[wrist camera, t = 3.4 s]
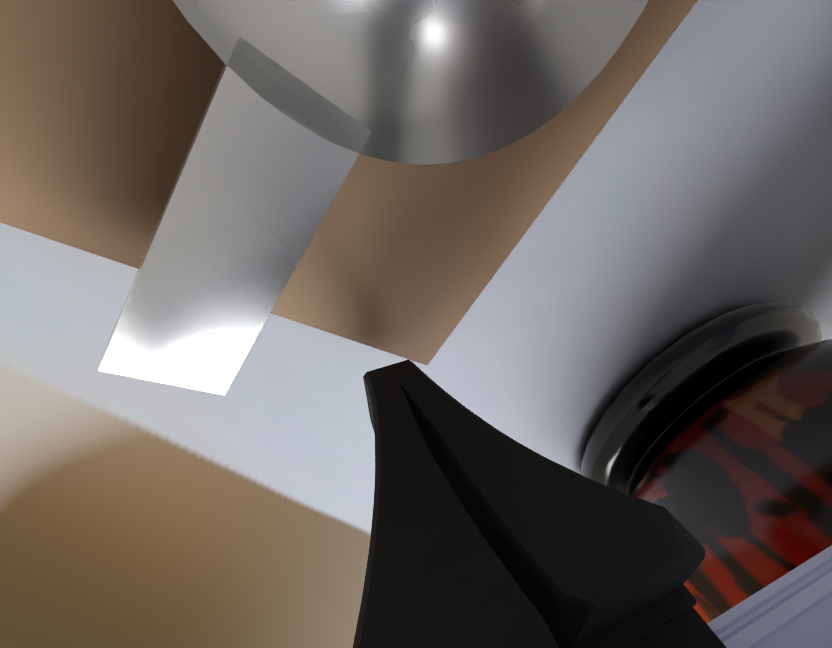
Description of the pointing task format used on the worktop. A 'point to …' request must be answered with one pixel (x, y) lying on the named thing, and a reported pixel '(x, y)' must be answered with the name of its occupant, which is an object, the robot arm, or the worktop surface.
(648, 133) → the worktop surface
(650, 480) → the amphora vase
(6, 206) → the base board
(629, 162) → the worktop surface
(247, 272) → the silver disc with handle
